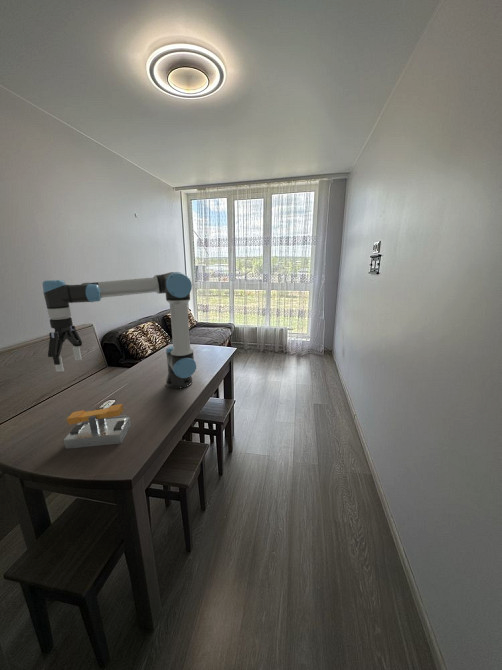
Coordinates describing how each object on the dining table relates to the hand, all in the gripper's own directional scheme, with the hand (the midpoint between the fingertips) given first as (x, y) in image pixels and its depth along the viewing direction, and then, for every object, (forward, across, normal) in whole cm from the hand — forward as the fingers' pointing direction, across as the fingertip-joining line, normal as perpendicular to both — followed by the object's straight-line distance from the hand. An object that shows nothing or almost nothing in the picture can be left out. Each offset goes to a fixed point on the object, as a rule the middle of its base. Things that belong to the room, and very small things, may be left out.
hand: (69, 365), depth 111 cm
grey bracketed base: (+25, +16, +16) cm, 34 cm away
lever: (+15, +16, +16) cm, 28 cm away
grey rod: (+25, +5, +16) cm, 30 cm away
